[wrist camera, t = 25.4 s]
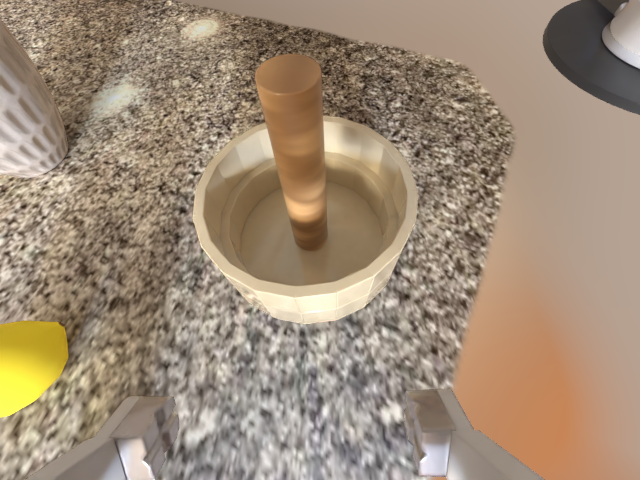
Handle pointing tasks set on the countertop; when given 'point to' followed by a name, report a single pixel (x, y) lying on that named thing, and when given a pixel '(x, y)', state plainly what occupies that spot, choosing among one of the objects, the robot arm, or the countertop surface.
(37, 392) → the lemon
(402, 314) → the countertop surface
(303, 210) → the stick
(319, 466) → the countertop surface
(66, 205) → the countertop surface
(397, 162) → the bowl
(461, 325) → the countertop surface
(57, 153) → the vase
